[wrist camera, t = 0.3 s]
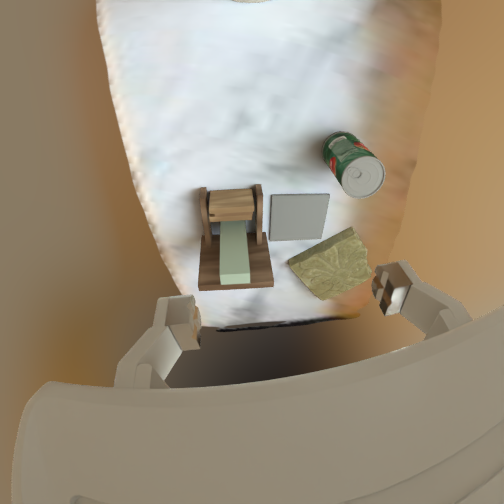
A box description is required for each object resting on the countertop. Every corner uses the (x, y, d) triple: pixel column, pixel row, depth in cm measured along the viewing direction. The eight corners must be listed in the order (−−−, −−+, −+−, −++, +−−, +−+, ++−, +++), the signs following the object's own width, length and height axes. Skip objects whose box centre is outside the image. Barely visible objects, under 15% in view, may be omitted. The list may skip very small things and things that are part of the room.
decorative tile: (319, 294, 80) (321, 304, 77) (286, 258, 67) (289, 269, 65) (374, 266, 73) (379, 276, 70) (353, 222, 61) (358, 232, 58)
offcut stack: (208, 190, 52) (207, 208, 47) (251, 188, 52) (254, 206, 48) (210, 208, 55) (209, 227, 50) (251, 206, 55) (254, 224, 51)
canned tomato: (367, 143, 46) (394, 170, 38) (346, 174, 51) (367, 205, 43) (335, 124, 43) (359, 148, 35) (314, 158, 48) (332, 188, 40)
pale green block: (220, 216, 56) (219, 274, 45) (244, 214, 56) (250, 273, 45) (221, 225, 58) (221, 284, 47) (244, 224, 58) (250, 283, 47)
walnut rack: (194, 188, 51) (186, 235, 41) (267, 184, 52) (278, 230, 42) (202, 241, 61) (199, 291, 51) (265, 237, 61) (273, 286, 51)
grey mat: (271, 194, 53) (272, 196, 53) (329, 193, 54) (330, 195, 54) (269, 239, 62) (270, 241, 61) (320, 237, 62) (321, 238, 62)
